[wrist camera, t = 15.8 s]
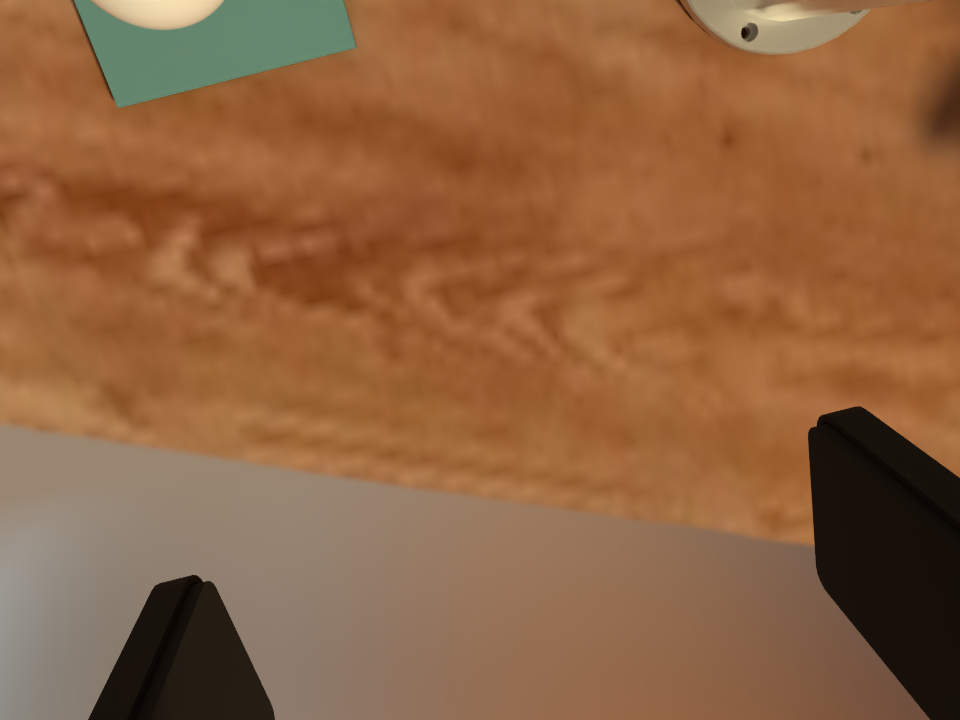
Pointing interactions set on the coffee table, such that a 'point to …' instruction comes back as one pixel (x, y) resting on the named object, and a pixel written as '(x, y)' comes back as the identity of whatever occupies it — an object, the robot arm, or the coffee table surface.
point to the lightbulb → (160, 12)
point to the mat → (213, 45)
